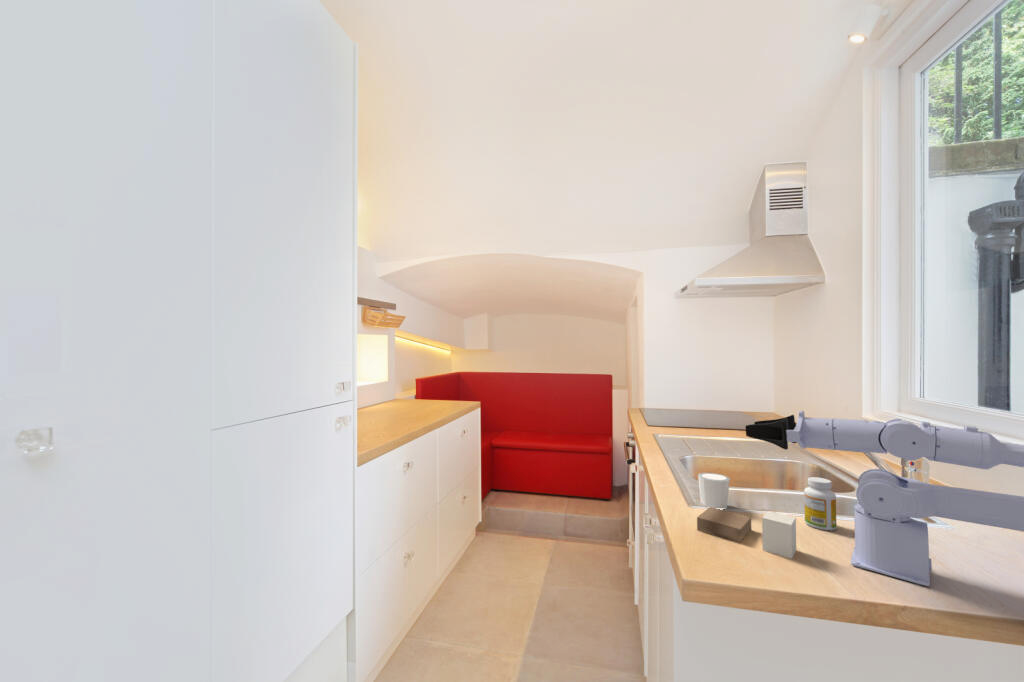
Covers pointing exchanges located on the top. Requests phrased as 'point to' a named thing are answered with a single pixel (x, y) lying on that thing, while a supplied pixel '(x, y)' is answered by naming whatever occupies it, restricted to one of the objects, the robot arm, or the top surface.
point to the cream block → (779, 534)
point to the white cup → (713, 489)
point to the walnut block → (724, 524)
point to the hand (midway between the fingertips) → (750, 428)
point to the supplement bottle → (820, 504)
